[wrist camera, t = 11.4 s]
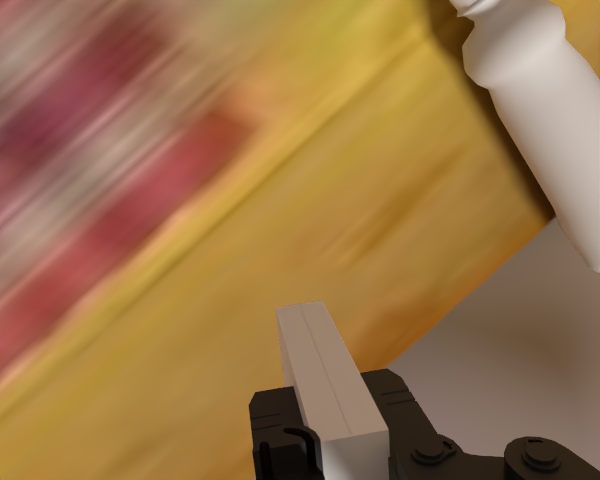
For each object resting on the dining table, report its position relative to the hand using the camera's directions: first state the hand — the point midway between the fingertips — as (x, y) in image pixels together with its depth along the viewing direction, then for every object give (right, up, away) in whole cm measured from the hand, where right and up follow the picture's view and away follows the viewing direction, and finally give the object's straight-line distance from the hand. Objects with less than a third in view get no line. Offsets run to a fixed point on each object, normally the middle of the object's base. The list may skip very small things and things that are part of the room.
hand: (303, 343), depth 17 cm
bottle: (+21, +15, +31) cm, 40 cm away
